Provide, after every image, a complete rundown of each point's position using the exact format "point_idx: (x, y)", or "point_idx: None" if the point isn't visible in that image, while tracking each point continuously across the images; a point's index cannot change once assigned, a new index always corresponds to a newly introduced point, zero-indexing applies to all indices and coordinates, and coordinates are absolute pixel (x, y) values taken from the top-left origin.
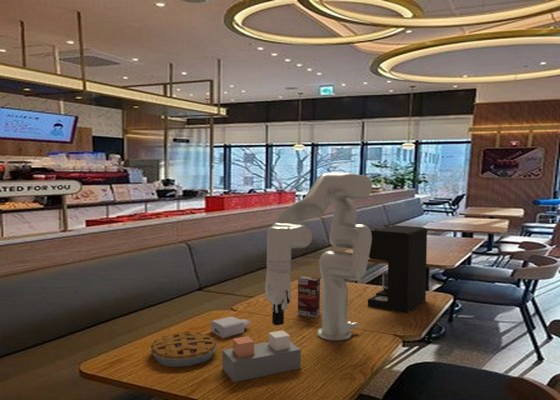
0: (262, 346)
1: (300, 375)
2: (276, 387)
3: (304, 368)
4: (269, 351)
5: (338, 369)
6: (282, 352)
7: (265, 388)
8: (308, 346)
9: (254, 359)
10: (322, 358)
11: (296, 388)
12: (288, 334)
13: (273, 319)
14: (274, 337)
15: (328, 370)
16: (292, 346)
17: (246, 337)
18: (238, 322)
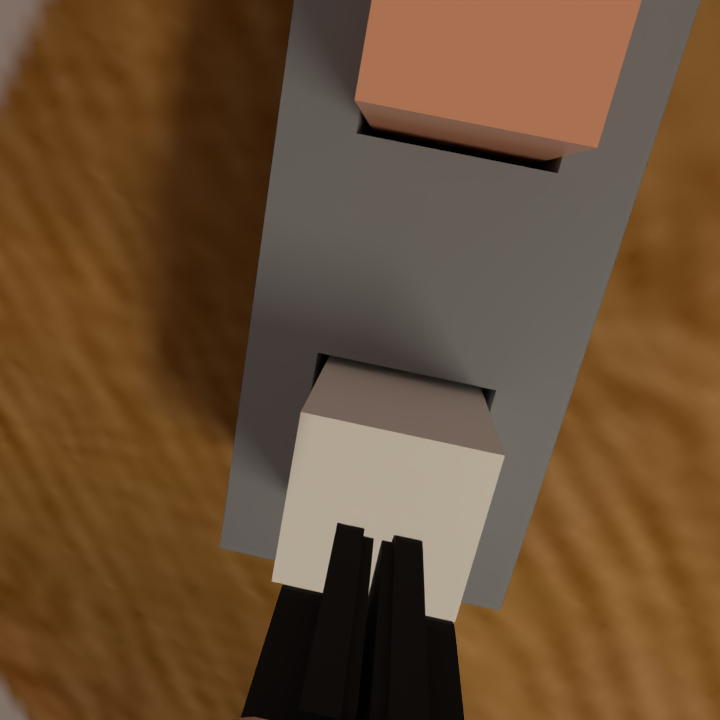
0: (494, 325)
1: (176, 400)
2: (106, 155)
3: None
4: (343, 306)
5: (128, 618)
6: (250, 389)
7: (130, 75)
8: (513, 717)
9: (289, 72)
10: None
11: (32, 261)
12: (304, 587)
13: (388, 592)
14: (325, 415)
15: (146, 570)
16: None
17: (568, 93)
18: None
